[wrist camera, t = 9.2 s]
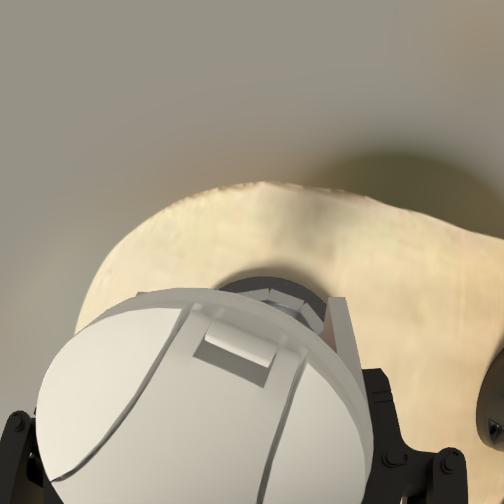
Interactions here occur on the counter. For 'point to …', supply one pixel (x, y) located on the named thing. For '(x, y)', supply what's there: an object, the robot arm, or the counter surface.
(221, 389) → the paper cup
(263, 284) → the rosette plate
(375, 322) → the counter surface
